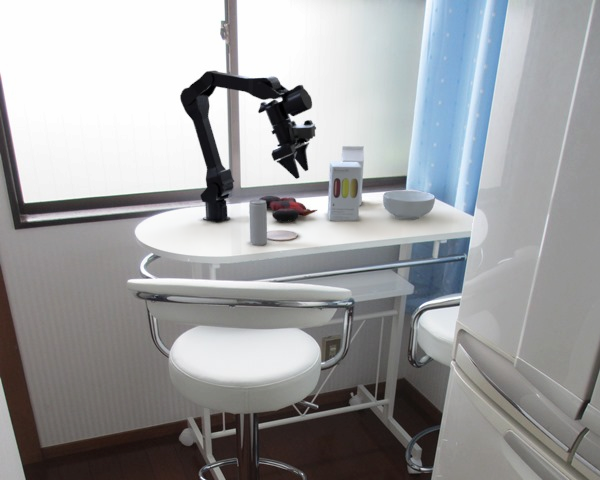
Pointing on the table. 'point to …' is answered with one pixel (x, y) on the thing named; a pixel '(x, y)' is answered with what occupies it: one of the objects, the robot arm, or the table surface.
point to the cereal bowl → (408, 203)
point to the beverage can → (258, 222)
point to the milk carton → (354, 160)
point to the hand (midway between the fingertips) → (302, 174)
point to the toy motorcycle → (286, 208)
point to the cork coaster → (281, 235)
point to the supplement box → (344, 191)
